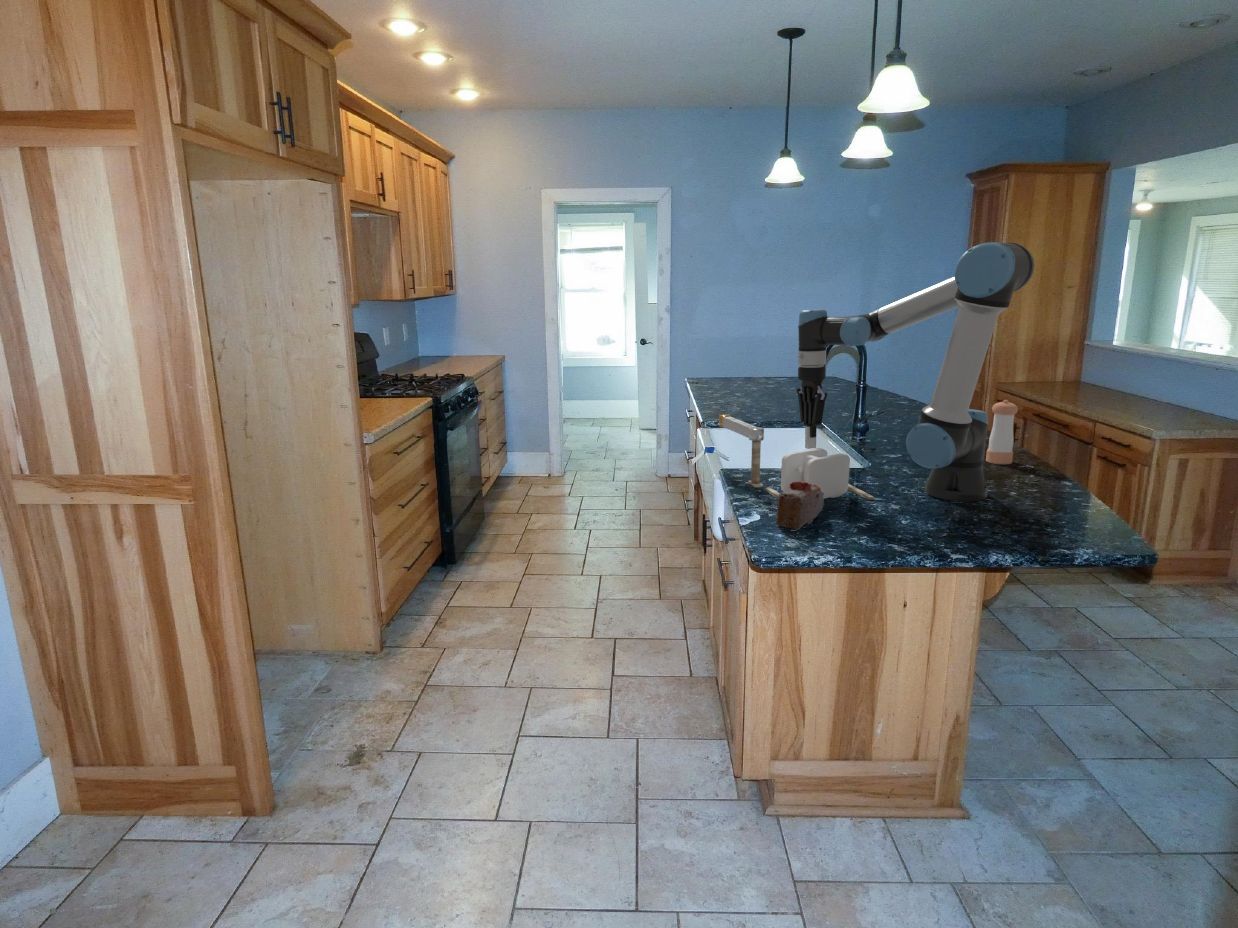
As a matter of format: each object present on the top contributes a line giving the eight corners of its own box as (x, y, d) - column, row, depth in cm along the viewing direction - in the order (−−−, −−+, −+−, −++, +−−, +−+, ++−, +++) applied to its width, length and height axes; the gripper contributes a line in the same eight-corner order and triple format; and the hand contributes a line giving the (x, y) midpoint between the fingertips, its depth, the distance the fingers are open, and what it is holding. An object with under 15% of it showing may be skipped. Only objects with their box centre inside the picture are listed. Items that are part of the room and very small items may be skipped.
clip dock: (873, 499, 193) (876, 452, 189) (786, 508, 187) (788, 460, 184) (826, 475, 216) (828, 432, 212) (747, 482, 210) (748, 439, 207)
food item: (794, 510, 186) (795, 472, 183) (825, 515, 182) (827, 477, 179) (773, 526, 175) (774, 486, 173) (805, 532, 171) (807, 491, 168)
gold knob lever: (727, 424, 225) (728, 414, 224) (766, 440, 203) (766, 429, 202) (716, 425, 224) (716, 415, 223) (753, 441, 202) (753, 430, 201)
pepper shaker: (1016, 464, 223) (1024, 402, 218) (992, 464, 223) (999, 402, 218) (1005, 458, 230) (1012, 397, 225) (981, 458, 230) (988, 398, 225)
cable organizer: (805, 504, 190) (807, 461, 187) (778, 494, 199) (780, 453, 196) (848, 495, 197) (851, 453, 194) (820, 486, 206) (822, 445, 203)
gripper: (788, 364, 210) (787, 445, 216) (811, 368, 198) (810, 453, 204) (811, 362, 212) (810, 442, 218) (836, 367, 200) (834, 451, 206)
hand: (810, 447), depth 211 cm, fingers closed
